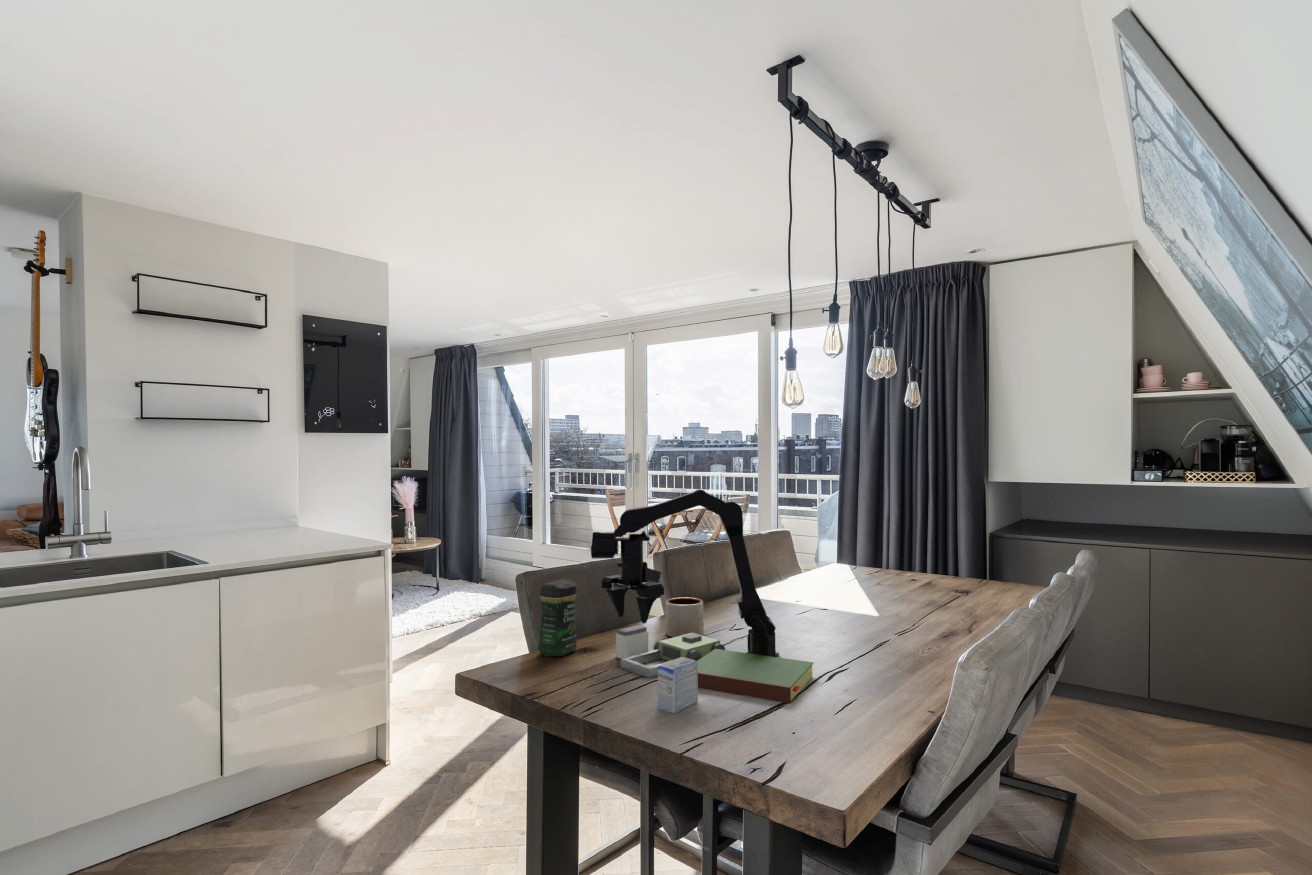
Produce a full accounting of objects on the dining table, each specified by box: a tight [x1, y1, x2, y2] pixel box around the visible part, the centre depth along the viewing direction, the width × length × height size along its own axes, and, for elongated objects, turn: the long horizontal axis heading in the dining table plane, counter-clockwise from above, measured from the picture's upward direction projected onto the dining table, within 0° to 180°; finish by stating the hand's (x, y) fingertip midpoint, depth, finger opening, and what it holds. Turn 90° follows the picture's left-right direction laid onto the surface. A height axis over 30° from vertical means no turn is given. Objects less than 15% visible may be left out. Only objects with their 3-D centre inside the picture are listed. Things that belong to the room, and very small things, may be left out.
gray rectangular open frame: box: [620, 649, 669, 679], centre depth 159 cm, size 10×12×2 cm
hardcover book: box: [697, 649, 814, 704], centre depth 148 cm, size 25×19×4 cm
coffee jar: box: [538, 578, 577, 658], centre depth 172 cm, size 10×8×19 cm
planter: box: [665, 596, 705, 638], centre depth 188 cm, size 11×11×10 cm
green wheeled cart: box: [653, 633, 726, 662], centre depth 167 cm, size 13×12×5 cm
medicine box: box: [657, 657, 699, 714], centre depth 134 cm, size 8×4×9 cm, turn 141°
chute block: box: [615, 624, 649, 660], centre depth 168 cm, size 4×7×7 cm, turn 132°
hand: (632, 619), depth 168 cm, fingers open, 9 cm apart
